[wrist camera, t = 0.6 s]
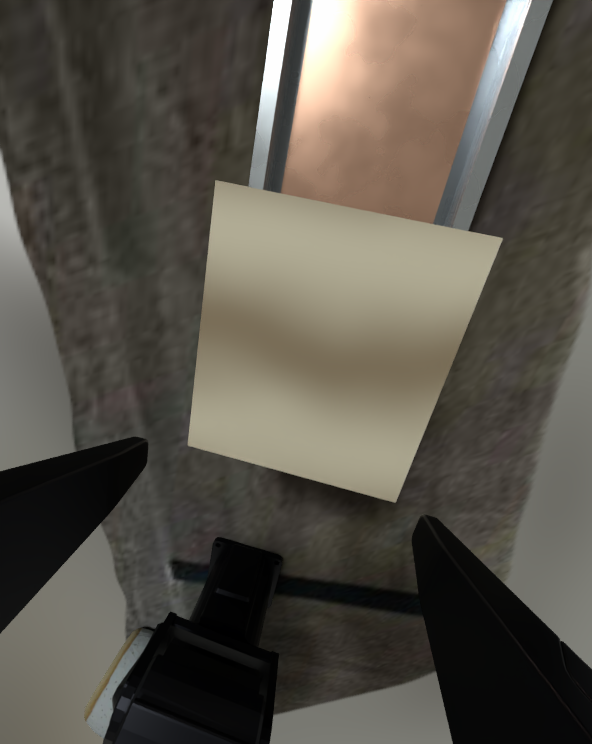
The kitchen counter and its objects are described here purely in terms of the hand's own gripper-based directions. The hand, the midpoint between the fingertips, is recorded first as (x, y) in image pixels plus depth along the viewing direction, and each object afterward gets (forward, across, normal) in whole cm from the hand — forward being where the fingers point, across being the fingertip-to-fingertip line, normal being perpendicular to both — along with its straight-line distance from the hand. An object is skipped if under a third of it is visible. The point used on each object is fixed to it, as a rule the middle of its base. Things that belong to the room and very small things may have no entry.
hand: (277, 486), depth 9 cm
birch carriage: (+10, 0, -4) cm, 11 cm away
